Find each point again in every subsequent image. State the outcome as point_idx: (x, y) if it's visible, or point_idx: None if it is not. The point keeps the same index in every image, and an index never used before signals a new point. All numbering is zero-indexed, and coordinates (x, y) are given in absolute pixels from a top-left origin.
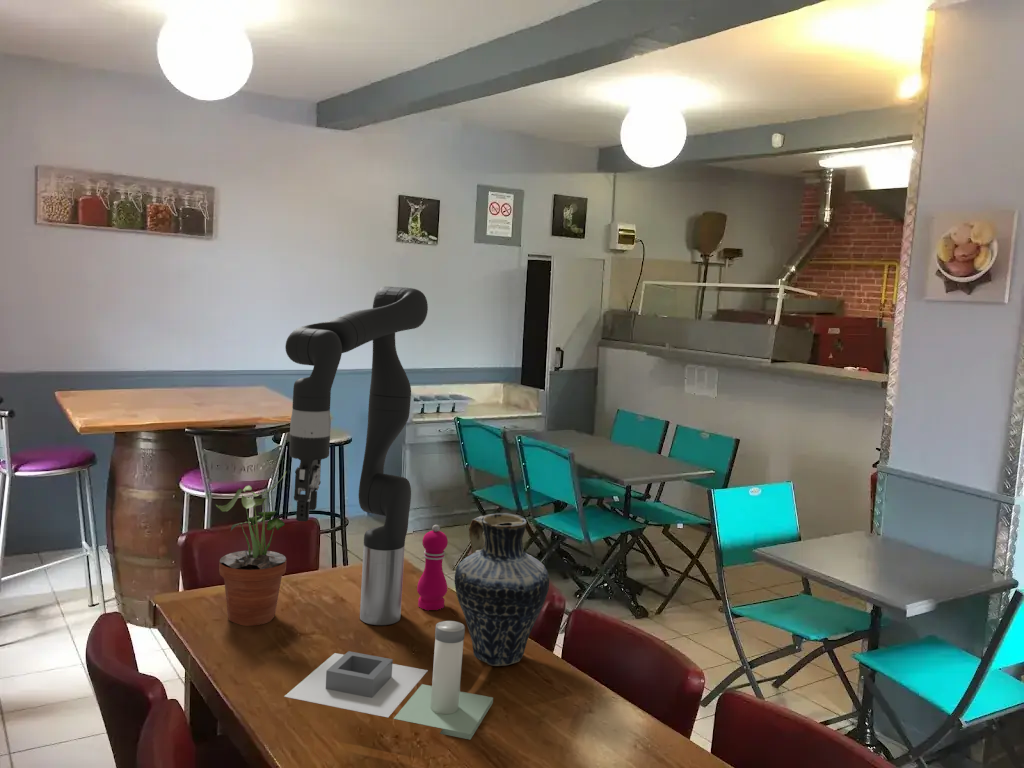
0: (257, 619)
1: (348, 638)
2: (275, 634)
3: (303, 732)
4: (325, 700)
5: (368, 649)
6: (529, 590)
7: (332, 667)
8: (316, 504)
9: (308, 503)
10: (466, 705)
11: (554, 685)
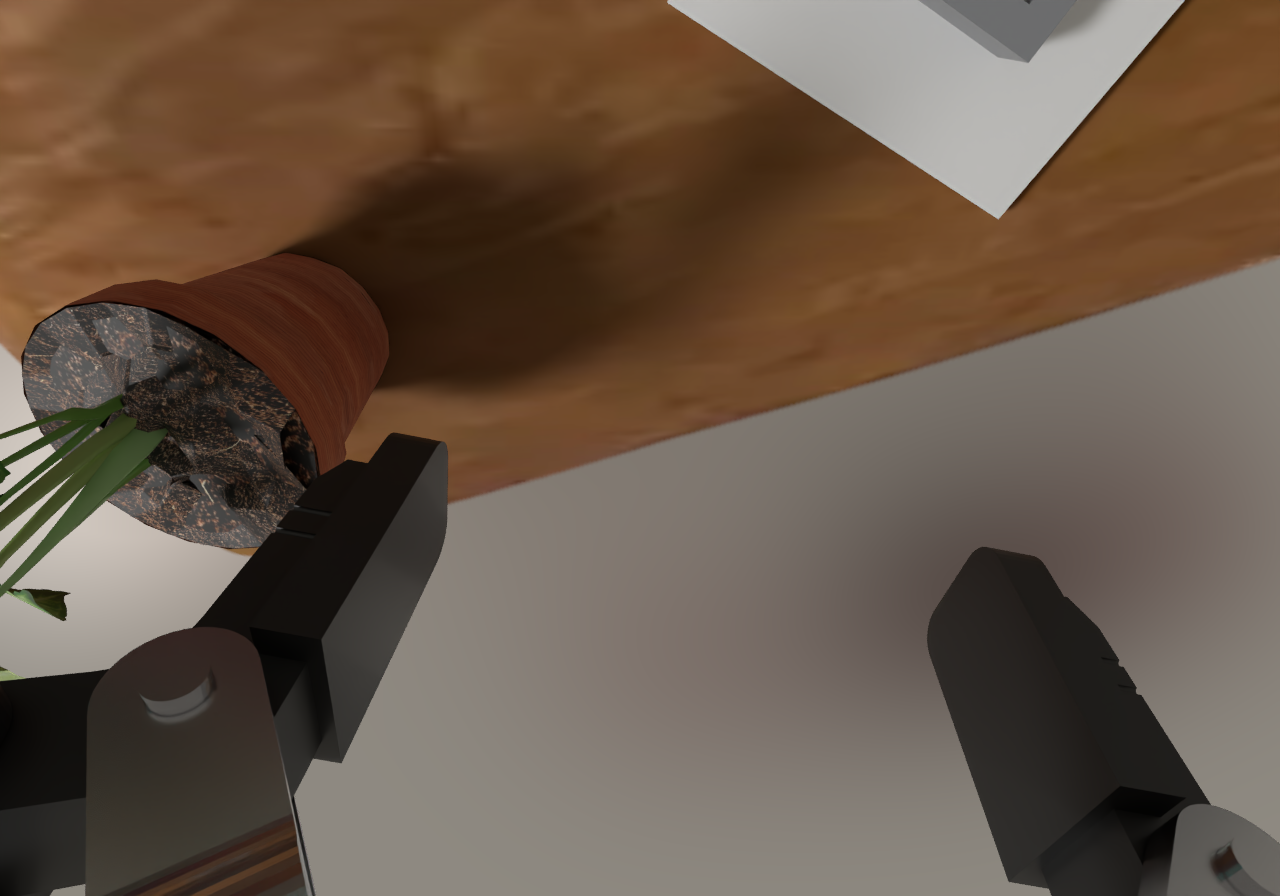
0: (372, 316)
1: None
2: (449, 246)
3: (1240, 146)
4: (1096, 60)
5: None
6: None
7: (1007, 31)
8: (381, 464)
9: (1164, 778)
10: None
11: None
